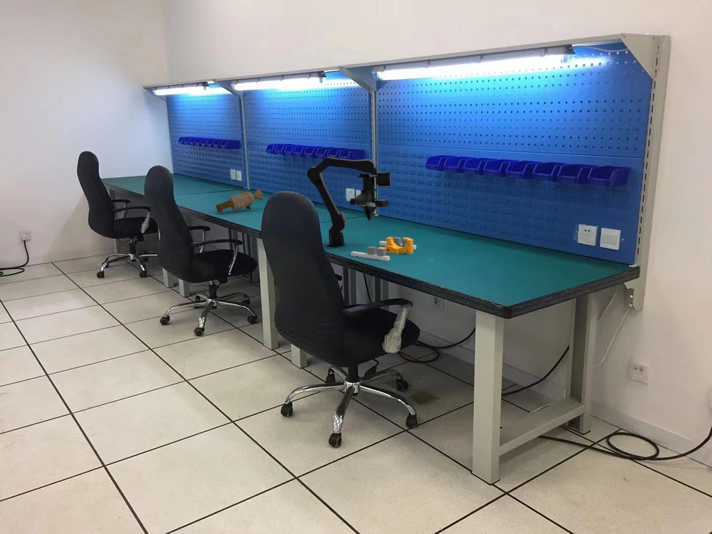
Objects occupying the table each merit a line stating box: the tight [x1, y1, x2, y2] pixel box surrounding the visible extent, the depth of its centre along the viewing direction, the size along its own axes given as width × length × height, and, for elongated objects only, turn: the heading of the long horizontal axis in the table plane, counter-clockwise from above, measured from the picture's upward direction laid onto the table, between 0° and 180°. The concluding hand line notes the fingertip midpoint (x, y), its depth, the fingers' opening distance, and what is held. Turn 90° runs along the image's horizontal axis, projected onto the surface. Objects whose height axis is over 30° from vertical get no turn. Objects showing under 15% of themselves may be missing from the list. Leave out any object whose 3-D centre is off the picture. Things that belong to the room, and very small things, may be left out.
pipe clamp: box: [384, 236, 414, 255], centre depth 261 cm, size 12×4×6 cm, turn 60°
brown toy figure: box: [215, 188, 264, 215], centre depth 380 cm, size 10×12×30 cm
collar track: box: [350, 236, 417, 262], centre depth 263 cm, size 19×25×5 cm
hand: (369, 220), depth 274 cm, fingers closed
